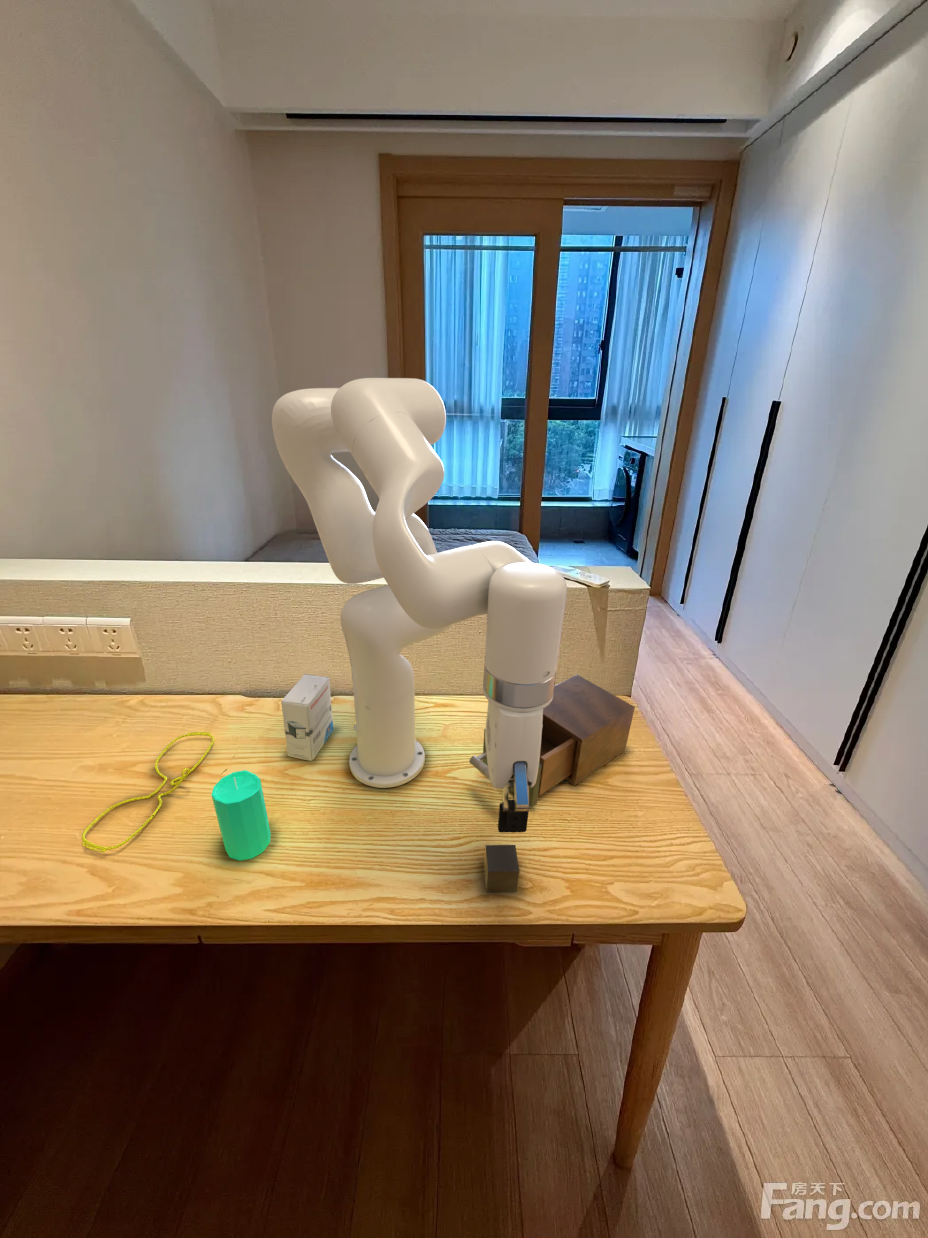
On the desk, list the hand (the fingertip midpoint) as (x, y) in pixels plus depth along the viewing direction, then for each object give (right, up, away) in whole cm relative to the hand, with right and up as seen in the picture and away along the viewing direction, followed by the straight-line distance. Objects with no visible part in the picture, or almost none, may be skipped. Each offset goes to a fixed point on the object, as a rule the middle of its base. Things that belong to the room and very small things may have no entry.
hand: (507, 801), depth 62 cm
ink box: (-32, 0, +29) cm, 43 cm away
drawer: (+4, -4, +22) cm, 23 cm away
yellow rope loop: (-52, -5, +18) cm, 56 cm away
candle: (-36, -9, +10) cm, 38 cm away
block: (0, -12, +6) cm, 14 cm away
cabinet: (+14, -1, +30) cm, 33 cm away
